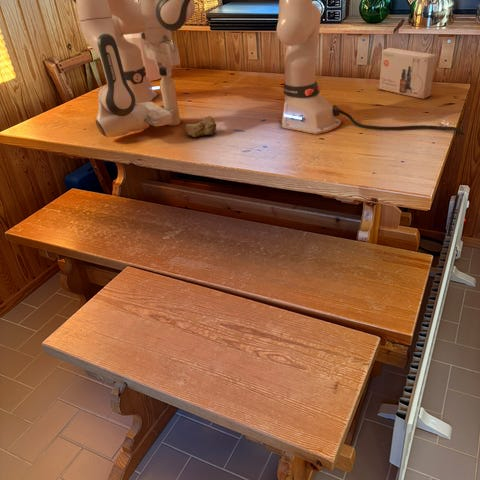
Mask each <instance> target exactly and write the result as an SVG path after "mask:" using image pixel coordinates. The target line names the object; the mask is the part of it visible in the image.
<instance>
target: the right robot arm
mask: <svg viewBox="0 0 480 480" xmlns="http://www.w3.org/2000/svg"><path fill="white" fill-rule="evenodd" d="M139 1H140V3H139V4H141V10H142V15H143V17H144V20H145V31H144V32H142V33H141V38H142V39H143V44H144V49H145V53H146V56H147V58H148V59H150V60H153V61H155V62H156V65H157V67H158V69H159V68H161V67H163V65H162V63H163V64H165V67H166V71H165V73H166V76H168V77H169V76H170V77H172V75H173V73H172V70H173V67H177V66H180V65H181V57H180V53H179V49H178V46H177V44H176V42H175V41H174V40H173V37H172V32H174V31H178V30H180V29H181V28H182V27H183V26H184V25H185V24H186V23H187V22H188V21H190V20H191V18H192V17H193V16H194V14H195V9H196V8H195V7H196V6H195V2H194V0H139ZM321 19H322V14H321V10H320V9H319V6H317V5H316V4H314V3H313V0H279V1H278V19H277V25H276V35H277V38H278V40H279V41H280V42H281V43H282V44H283V45H285V46H286V50H285V55H284V59H283V67H284V68H283V70H284V82H283V89H282V90H283V94H284V103H283V111H282V116H281V120H280V121H281V128H282V129H288V130H292V131H298V132H303V133H309V134H313V135H314V134H315V135H319V134H324V133H328V132H331V131H332V130H335V129H337V128H338V127H339V126H340V125H341V124H342V120H341V119H340V118H337V117H340V116H341V115H344V116H345V117H347V118H348V119H349V120H350V121H351V122H352V124H354V125H355V126H357V127H359V128H363V129H373V130H385V131H386V130H389V131H390V130H391V131H392V130H397V131H398V130H411V129H428V130H431V129H433V130H440V131H441V130H442V131H455V132H457V133H458V134H459V135H461V136H464V135H465V134H464V132H463V130H461V129H460V128H458V127H456V126H440V125H427V124H426V125H425V124H424V125H422V124H421V125H401V126H400V125H399V126H380V125H370V124H363V123H360V122H358V121H356V120H355V119H354V118H353V117H352V115H350V114H349V113H348V112H346V111H343V110H342V109H340V108H339V107H338V106H337V105H335V104H334V105H332V104H331V103H330V102H329V101H328V100H327V99H326V98H325V97H324V96H323V95H322V94H321V93H320V90H321V89H322V86H323V85H322V84H320V85H319V84H318V81H317V53H318V48H319V47H318V46H319V38H320V29H321ZM340 114H341V115H340ZM459 197H460V193H458V194H457V195H456V196H455V197H454V202H453V206H452V211H451V215H450V219H449V222H448V223H449V224H448V229H447V236H451V233H452V228H453V224H454V223H453V222H454V219H455V214H456V210H457V206H458V202H459Z"/></svg>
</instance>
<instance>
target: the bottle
mask: <svg viewBox="0 0 480 480" xmlns="http://www.w3.org/2000/svg"><path fill="white" fill-rule="evenodd" d="M159 87H160V93H161V99H162V103H163V104H162V105H164V109H165V110H167V111H171V110H172V109H174V108H176V109H178V114H174V115H173V116H172V117H173V122H172V123H171V124H167V125H166V126H170V127H173V126H179V125H180V124H181V122H182V121H181V117H180V116H181V115H180V111H179V104H178V97H177V91H176V85H175V81H174V79H173V78H172V76H169V77H168V76H162V78H161V79H160V81H159Z"/></svg>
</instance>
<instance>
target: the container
mask: <svg viewBox="0 0 480 480" xmlns="http://www.w3.org/2000/svg"><path fill="white" fill-rule="evenodd" d="M141 33H142V32H141ZM141 33H137V34H126V35H123V36H124V38H125V39H126V40H127V41H128V42H131V43H133V44H135V45H137V46H138V47H139V49H140V51H141V55H142V61H143V66H144V67H145V69H146V76H147V77H148V78H150V80H151V82H152V81H157V80H161V79H162V76H161V75H160V73H159V69H158V67H157V65H156V62H155V61H153V60H150V59H148V58H147V56H146V53H145V49H144V44H143V39H142V38H141ZM162 65H163V67H165V64H163V63H162Z"/></svg>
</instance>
